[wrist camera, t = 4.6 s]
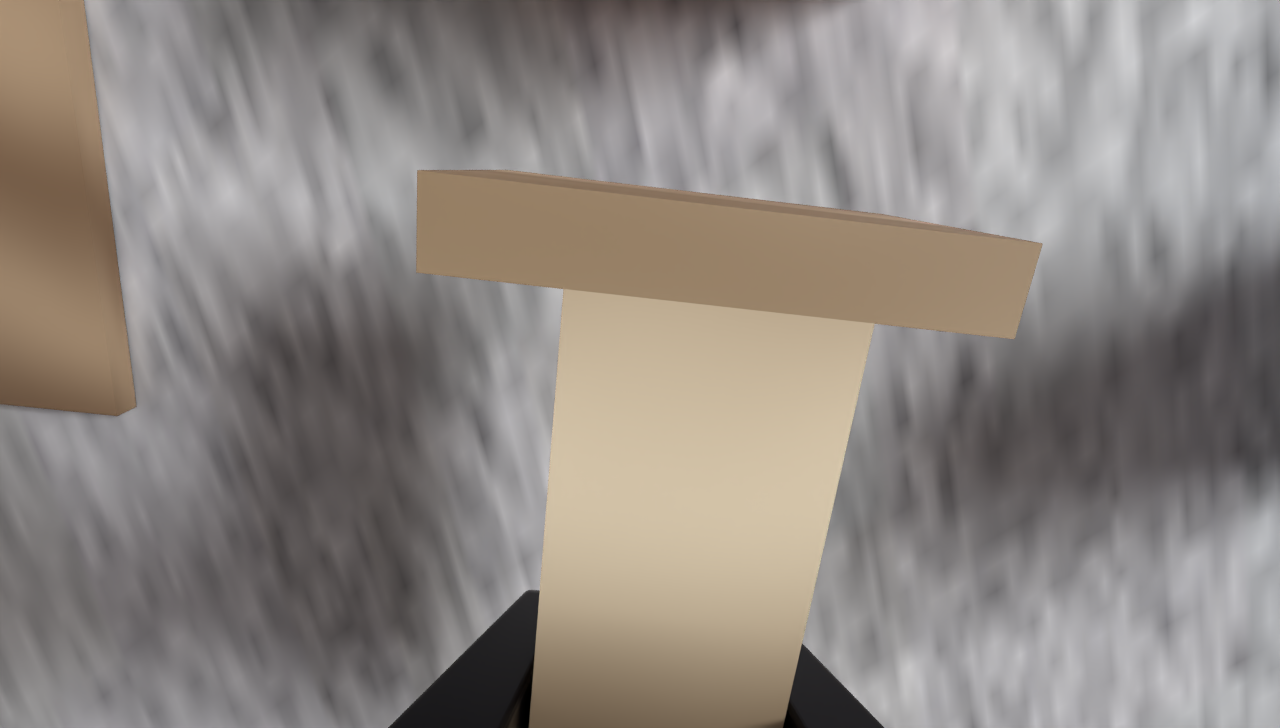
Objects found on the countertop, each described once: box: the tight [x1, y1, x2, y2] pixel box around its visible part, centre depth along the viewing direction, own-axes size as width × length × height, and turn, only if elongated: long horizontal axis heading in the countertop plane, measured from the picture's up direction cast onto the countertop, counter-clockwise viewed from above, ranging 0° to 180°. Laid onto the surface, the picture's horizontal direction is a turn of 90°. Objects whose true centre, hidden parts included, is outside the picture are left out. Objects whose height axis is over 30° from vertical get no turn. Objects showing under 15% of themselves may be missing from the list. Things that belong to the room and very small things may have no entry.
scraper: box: [416, 170, 1042, 728], centre depth 8 cm, size 11×5×4 cm, turn 174°
